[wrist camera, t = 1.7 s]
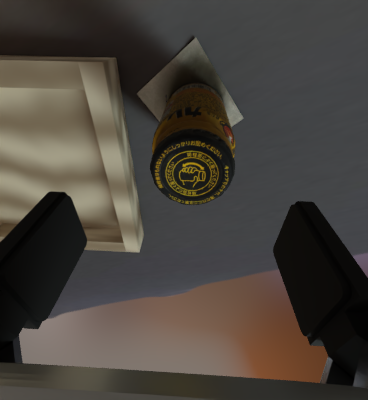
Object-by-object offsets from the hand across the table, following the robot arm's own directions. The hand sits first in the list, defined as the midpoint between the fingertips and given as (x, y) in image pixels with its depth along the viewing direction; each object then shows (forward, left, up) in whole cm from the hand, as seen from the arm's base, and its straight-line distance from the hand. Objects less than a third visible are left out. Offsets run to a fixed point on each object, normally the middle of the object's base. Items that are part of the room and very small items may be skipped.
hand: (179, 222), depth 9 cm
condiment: (-1, 0, -17) cm, 17 cm away
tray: (+7, -19, -16) cm, 26 cm away
